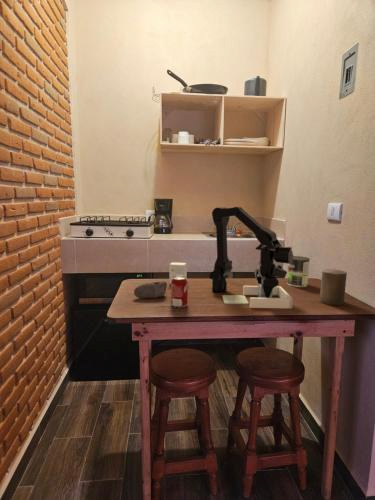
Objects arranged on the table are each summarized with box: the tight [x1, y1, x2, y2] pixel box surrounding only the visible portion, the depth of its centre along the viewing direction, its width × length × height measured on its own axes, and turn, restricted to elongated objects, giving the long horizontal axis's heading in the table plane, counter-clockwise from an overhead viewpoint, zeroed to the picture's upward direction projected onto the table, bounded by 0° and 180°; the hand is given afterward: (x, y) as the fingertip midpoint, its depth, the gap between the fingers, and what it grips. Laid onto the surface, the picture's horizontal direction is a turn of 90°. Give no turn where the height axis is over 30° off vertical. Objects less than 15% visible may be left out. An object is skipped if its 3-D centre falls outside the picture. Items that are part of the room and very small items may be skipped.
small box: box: [168, 261, 188, 285], centre depth 162 cm, size 8×6×10 cm
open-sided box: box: [242, 285, 294, 309], centre depth 137 cm, size 17×18×4 cm
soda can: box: [170, 276, 189, 309], centre depth 128 cm, size 7×7×12 cm
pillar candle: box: [319, 268, 348, 306], centre depth 135 cm, size 10×10×15 cm
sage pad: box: [222, 294, 249, 305], centre depth 137 cm, size 10×10×1 cm
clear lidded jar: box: [286, 255, 311, 288], centre depth 162 cm, size 10×10×14 cm
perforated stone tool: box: [133, 281, 168, 299], centre depth 139 cm, size 15×5×7 cm, turn 104°
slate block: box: [257, 284, 273, 298], centre depth 136 cm, size 5×5×7 cm
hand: (264, 295), depth 137 cm, fingers open, 9 cm apart
